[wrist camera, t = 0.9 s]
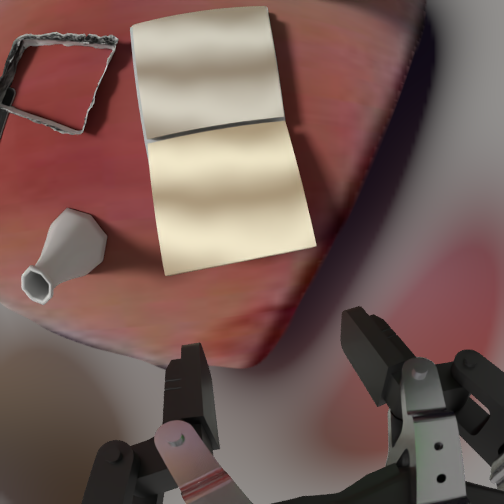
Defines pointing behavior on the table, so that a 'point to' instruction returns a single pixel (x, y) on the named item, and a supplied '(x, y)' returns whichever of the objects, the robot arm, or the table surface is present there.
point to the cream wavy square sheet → (228, 197)
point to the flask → (65, 254)
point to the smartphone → (2, 114)
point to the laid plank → (206, 70)
